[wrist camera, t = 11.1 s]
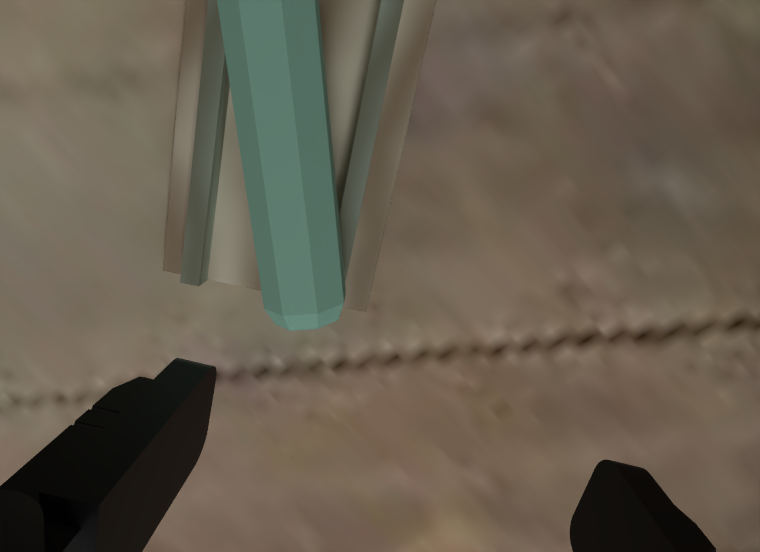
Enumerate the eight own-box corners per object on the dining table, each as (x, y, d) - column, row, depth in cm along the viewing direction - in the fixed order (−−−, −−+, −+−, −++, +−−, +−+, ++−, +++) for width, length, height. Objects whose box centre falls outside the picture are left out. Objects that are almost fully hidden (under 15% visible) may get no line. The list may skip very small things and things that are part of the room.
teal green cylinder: (329, 352, 23) (259, -277, 16) (238, 340, 26) (140, -217, 18) (372, 311, 29) (335, -179, 21) (294, 304, 31) (236, -141, 23)
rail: (452, -79, 26) (461, -105, 23) (366, 306, 32) (365, 320, 30) (208, -144, 25) (188, -178, 22) (170, 265, 31) (152, 276, 29)
